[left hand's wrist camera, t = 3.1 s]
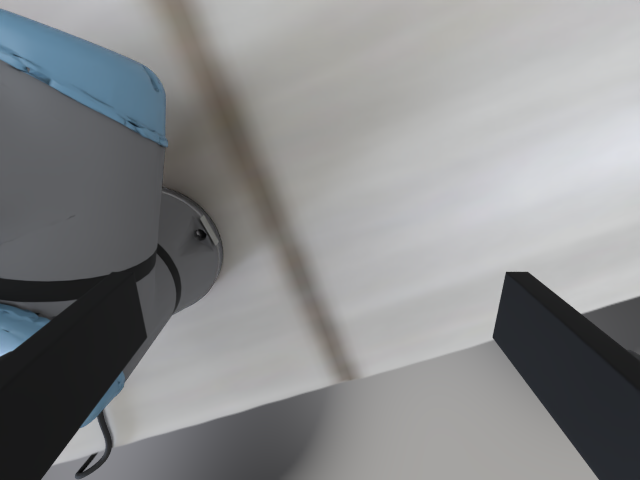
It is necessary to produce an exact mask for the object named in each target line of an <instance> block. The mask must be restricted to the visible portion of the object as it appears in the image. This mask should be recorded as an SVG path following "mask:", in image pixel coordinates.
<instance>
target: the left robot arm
mask: <svg viewBox="0 0 640 480" xmlns="http://www.w3.org/2000/svg"><path fill="white" fill-rule="evenodd" d="M165 114H166V95H165V91H164V88H163V85H162V83H161V82H160V80H159V78H158V77H157V76H156V75H155V74H154V73H153V72H152V71H151V70H150V69H149V68H147V67H146V66H144V65H142V64H141V63H139V62H136V61H134V60H132V59H130V58H128V57H125V56H123V55H121V54H118V53H116V52H114V51H111V50H109V49H106V48H104V47H101V46H99V45H96V44H94V43H91V42H89V41H86V40H84V39H81V38H79V37H76V36H73V35H71V34H68V33H66V32H63V31H61V30H58V29H55V28H53V27H50V26H47V25H44V24H42V23H39V22H36V21H34V20H31V19H28V18H26V17H23V16H20V15H17V14H15V13H12V12H9V11H6V10H3V9H0V480H41V479H42V478H43V476H44V475H45V474H46V472H47V471H48V470H49V468H50V467H51V466H52V464H53V463H54V462H55V460H56V459H57V458H58V456H59V455H60V454H61V452H62V451H63V449H64V448H65V447H66V445H67V444H68V443H69V441H70V440H71V439H72V437H73V436H74V435H75V433H76V432H77V431H78V429H79V428H82V427H84V426H86V425H87V424H89V423H90V422H91V421H92V420H94V419H95V418H96V417H97V418H98V422H99V425H100V427H101V430H102V432H103V435H104V438H105V443H106V449H105V453H104V455H103V457H102V458H101V459H100V460H99V461H98V462H97V463H96V464H95V465H93V466H92V467H91V468H89V469H88V470H86V471H84V470H85V469H86V468H87V466H88V465H89V464H90V463H91V461H92V460H93V459H94V458H95V456H96V455H97V454H98V452H97V453H94V454H91V456H90V457H89V458H88V459H87V461H86V462H85V463H84V464H83V465H82V467H81V468H80V469H79V470H78V472H77V473H76V475H75V478H76V479H81V478H83V477H85V476H87V475H89V474H91V473H92V472H94V471H95V470H96V469H98V468H99V467H100V466H101V465H102V464H103V463H104V462H105V461H106V460H107V458H108V456H109V454H110V452H111V448H112V441H111V436H110V433H109V431H108V428H107V425H106V423H105V419H104V416H103V411H102V410H103V409H104V408H105V407H106V406H107V405H108V403H109V402H110V401H111V400H112V399H113V398H114V397H115V396H117V394H118V393H119V392H120V391H121V390H122V388H123V387H124V383H125V381H126V380H127V378H128V377H129V376H130V374H131V373H132V371H133V370H134V369H135V367H136V366H137V364H138V363H139V361H140V360H141V359H142V357H143V356H144V354H145V353H146V351H147V350H148V349H149V347H150V346H151V344H152V343H153V341H154V340H155V339H156V337H157V336H158V334H159V333H160V332H161V330H162V329H163V327H164V326H165V324H166V323H167V322H168V320H169V319H170V317H171V316H172V315H173V314H175V313H177V312H179V311H181V310H183V309H184V308H186V307H188V306H190V305H192V304H194V303H195V302H197V301H198V300H200V299H201V298H202V297H203V296H204V295H206V293H207V292H208V291H209V290H210V288H211V287H212V285H213V284H214V282H215V281H216V279H217V277H218V275H219V272H220V270H221V266H222V260H223V250H222V243H221V239H220V236H219V233H218V231H217V229H216V227H215V225H214V223H213V222H212V220H211V219H210V217H209V216H208V215H207V213H206V212H205V211H204V210H203V209H202V208H201V207H200V206H199V205H197V204H196V203H195V202H194V201H192V200H191V199H189V198H188V197H186V196H184V195H182V194H180V193H178V192H176V191H173V190H170V189H167V188H162V181H163V169H164V157H165V147H168V140H167V139H166V137H165ZM493 339H494V340H495V341H496V343H497V344H498V345H499V347H500V348H501V349H502V351H503V352H504V353H505V355H506V356H507V357H508V359H509V360H510V361H511V363H512V364H513V365H514V367H515V368H516V369H517V371H518V372H519V373H520V375H521V376H522V377H523V379H524V380H525V381H526V383H527V384H528V385H529V387H530V388H531V389H532V391H533V392H534V393H535V395H536V396H537V397H538V399H539V400H540V401H541V403H542V404H543V405H544V407H545V408H546V409H547V411H548V412H549V413H550V415H551V416H552V417H553V419H554V420H555V421H556V423H557V424H558V425H559V427H560V428H561V429H562V431H563V432H564V433H565V435H566V436H567V437H568V439H569V440H570V441H571V443H572V444H573V445H574V447H575V448H576V450H577V451H578V452H579V453H580V455H581V456H582V458H583V459H584V460H585V461H586V463H587V464H588V466H589V467H590V468H591V469H592V471H593V472H594V474H595V475H596V476H597V478H598V479H599V480H640V355H639V354H637V353H635V352H633V351H631V350H626V349H624V348H623V347H622V346H621V345H619V344H618V343H617V342H615V341H614V340H613V339H612V338H610V337H609V336H608V335H607V334H605V333H604V332H603V331H601V330H600V329H599V328H598V327H597V326H595V325H594V324H593V323H592V322H590V321H589V320H588V319H587V318H585V317H584V316H583V315H581V314H580V313H579V312H578V311H576V310H575V309H574V308H573V307H571V306H570V305H569V304H568V303H566V302H565V301H564V300H563V299H561V298H560V297H559V296H558V295H556V294H555V293H554V292H553V291H551V290H550V289H549V288H547V287H546V286H545V285H544V284H542V283H541V282H540V281H539V280H537V279H536V278H535V277H534V276H532V275H531V274H530V273H529V272H506V275H505V280H504V284H503V289H502V294H501V299H500V304H499V309H498V314H497V318H496V323H495V328H494V333H493ZM83 471H84V472H83Z"/></svg>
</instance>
